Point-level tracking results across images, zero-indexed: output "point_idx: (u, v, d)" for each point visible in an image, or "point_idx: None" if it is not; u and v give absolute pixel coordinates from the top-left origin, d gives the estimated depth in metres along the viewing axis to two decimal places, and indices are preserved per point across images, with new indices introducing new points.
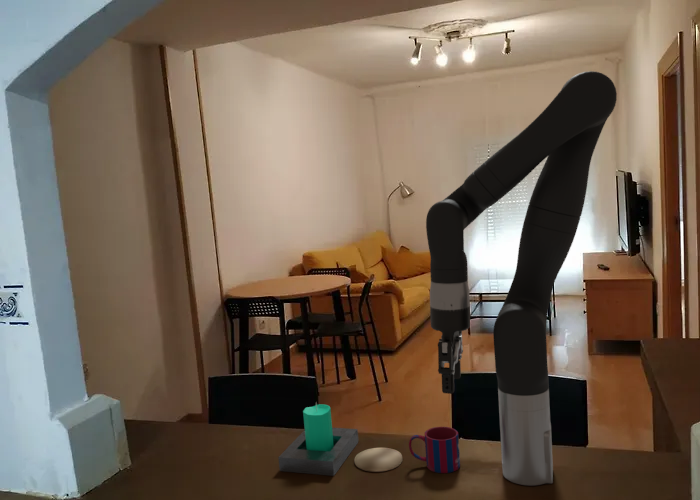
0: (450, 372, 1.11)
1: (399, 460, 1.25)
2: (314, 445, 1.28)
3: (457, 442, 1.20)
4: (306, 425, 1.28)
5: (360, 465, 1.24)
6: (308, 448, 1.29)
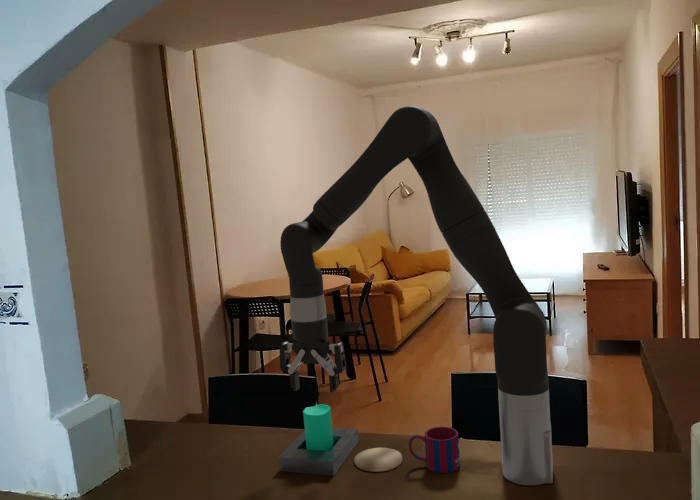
0: (345, 367, 1.27)
1: (399, 460, 1.25)
2: (314, 445, 1.28)
3: (457, 442, 1.20)
4: (306, 425, 1.28)
5: (360, 465, 1.24)
6: (308, 448, 1.29)
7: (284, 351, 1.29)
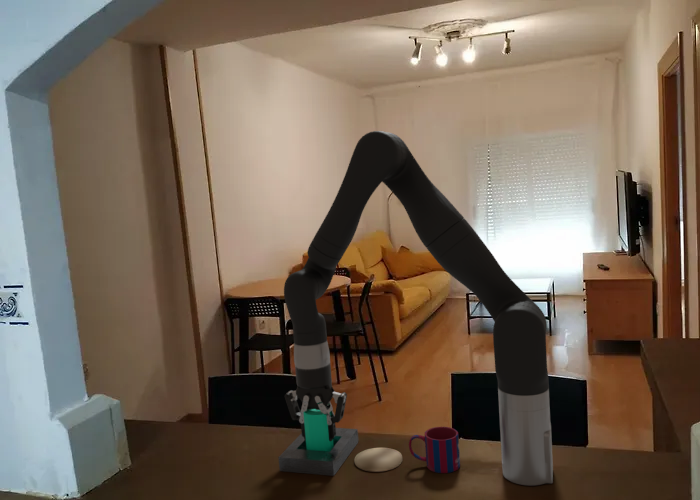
0: (342, 417, 1.29)
1: (399, 460, 1.25)
2: (314, 445, 1.28)
3: (457, 442, 1.20)
4: (306, 425, 1.28)
5: (360, 465, 1.24)
6: (308, 448, 1.29)
7: (290, 400, 1.30)
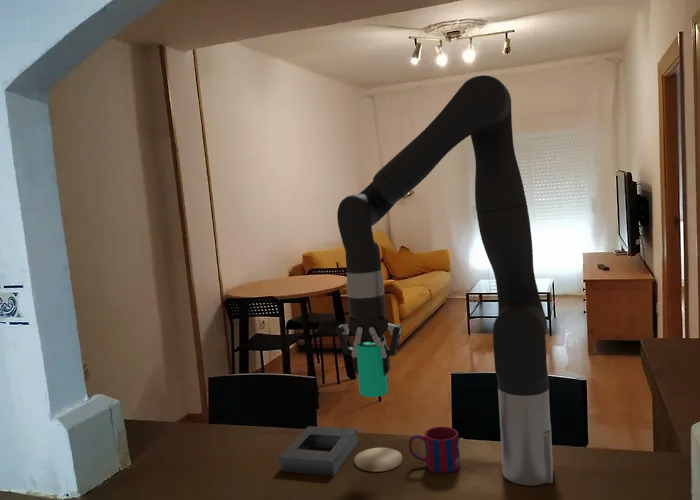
0: (397, 350, 1.23)
1: (399, 460, 1.25)
2: (368, 379, 1.22)
3: (457, 442, 1.20)
4: (359, 358, 1.22)
5: (360, 465, 1.24)
6: (361, 383, 1.23)
7: (342, 333, 1.24)
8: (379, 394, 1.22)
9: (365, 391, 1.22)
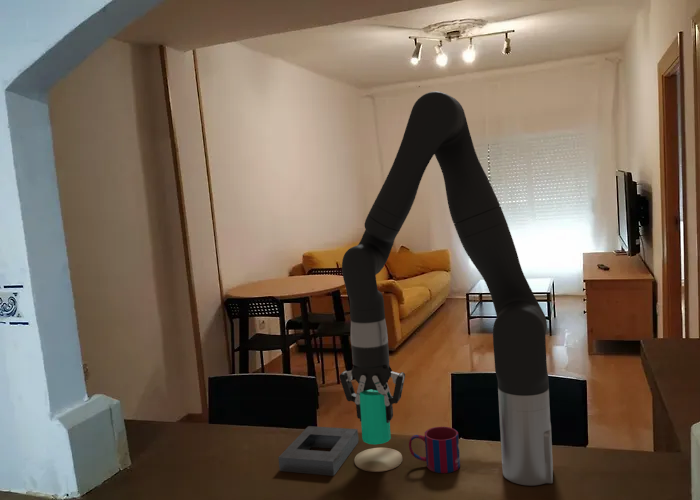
0: None
1: (399, 460, 1.25)
2: (371, 427, 1.23)
3: (457, 442, 1.20)
4: (363, 406, 1.23)
5: (360, 465, 1.24)
6: (364, 430, 1.24)
7: (345, 380, 1.25)
8: (382, 441, 1.23)
9: (367, 438, 1.24)
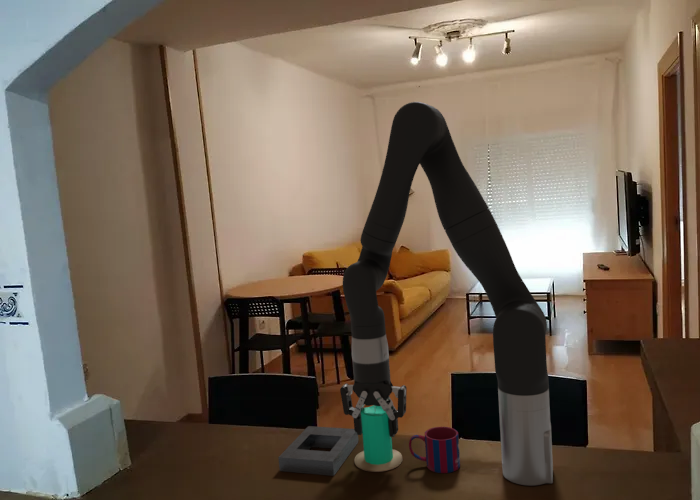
0: (405, 411, 1.24)
1: (399, 460, 1.25)
2: (373, 447, 1.23)
3: (457, 442, 1.20)
4: (365, 426, 1.24)
5: (360, 465, 1.24)
6: (367, 450, 1.24)
7: (345, 394, 1.26)
8: (384, 462, 1.24)
9: (370, 459, 1.24)
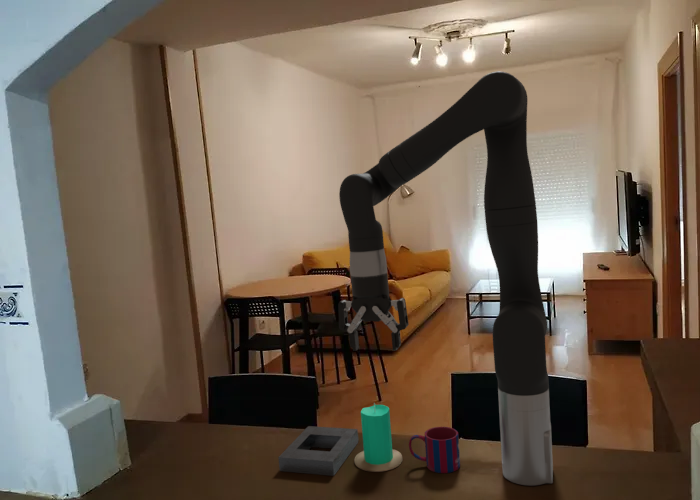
0: (408, 324, 1.23)
1: (399, 460, 1.25)
2: (373, 447, 1.23)
3: (457, 442, 1.20)
4: (365, 426, 1.24)
5: (360, 465, 1.24)
6: (366, 450, 1.24)
7: (343, 309, 1.25)
8: (384, 462, 1.24)
9: (370, 459, 1.24)
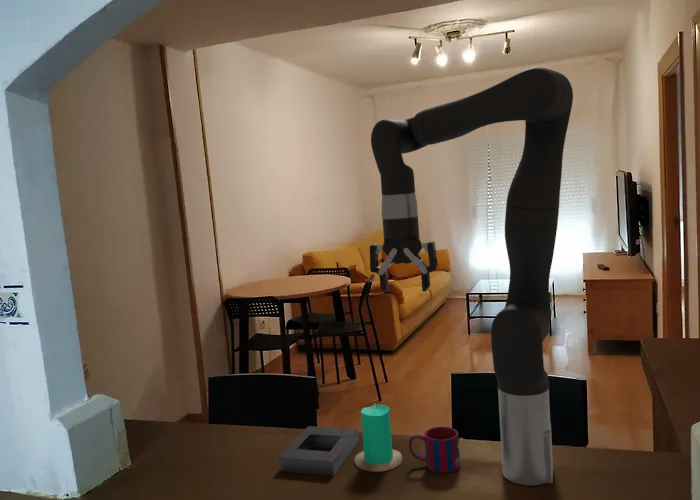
0: (437, 266, 1.27)
1: (399, 460, 1.25)
2: (373, 447, 1.23)
3: (457, 442, 1.20)
4: (365, 426, 1.24)
5: (360, 465, 1.24)
6: (366, 450, 1.24)
7: (374, 252, 1.29)
8: (384, 462, 1.24)
9: (370, 459, 1.24)
